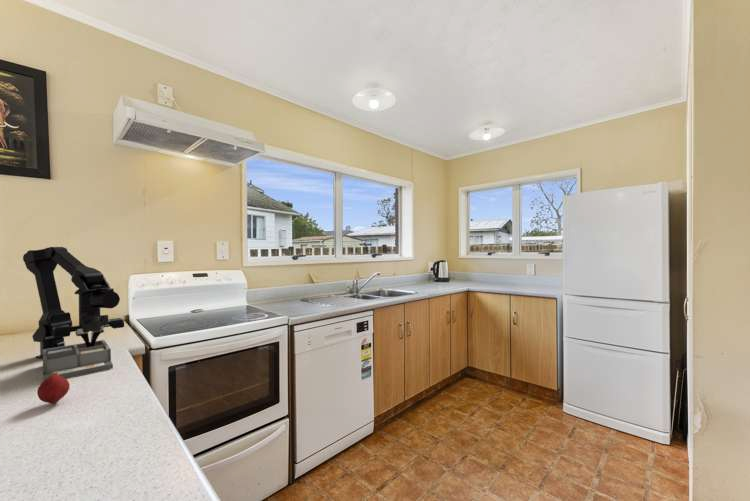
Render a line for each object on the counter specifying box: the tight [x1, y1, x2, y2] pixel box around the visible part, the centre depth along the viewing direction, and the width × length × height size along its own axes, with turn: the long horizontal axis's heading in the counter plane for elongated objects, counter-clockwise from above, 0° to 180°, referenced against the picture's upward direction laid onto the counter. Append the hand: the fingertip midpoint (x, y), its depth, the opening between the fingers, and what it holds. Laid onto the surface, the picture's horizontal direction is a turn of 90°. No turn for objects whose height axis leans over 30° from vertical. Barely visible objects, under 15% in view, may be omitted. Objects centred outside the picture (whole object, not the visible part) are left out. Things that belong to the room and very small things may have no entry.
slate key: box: [48, 348, 73, 354], centre depth 111 cm, size 6×6×2 cm
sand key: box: [80, 348, 104, 354], centre depth 111 cm, size 6×6×2 cm
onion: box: [36, 372, 70, 405], centre depth 84 cm, size 6×6×8 cm
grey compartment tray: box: [42, 339, 114, 381], centre depth 109 cm, size 20×16×6 cm
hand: (90, 351), depth 116 cm, fingers closed, pressing on terracotta key
